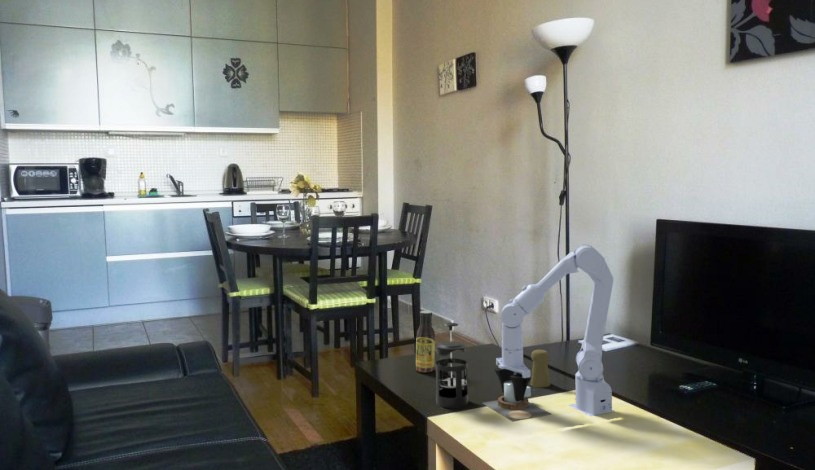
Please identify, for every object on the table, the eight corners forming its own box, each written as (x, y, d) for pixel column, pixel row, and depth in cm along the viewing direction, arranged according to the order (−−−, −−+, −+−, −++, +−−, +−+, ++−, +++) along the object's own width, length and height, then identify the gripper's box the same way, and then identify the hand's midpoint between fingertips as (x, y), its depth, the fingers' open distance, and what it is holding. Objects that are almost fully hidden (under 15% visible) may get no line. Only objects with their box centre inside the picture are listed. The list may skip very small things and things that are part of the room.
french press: (476, 407, 175) (474, 325, 174) (445, 413, 172) (443, 328, 170) (457, 395, 186) (455, 317, 184) (427, 400, 182) (425, 320, 181)
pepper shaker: (549, 383, 196) (548, 347, 195) (551, 389, 190) (551, 352, 189) (529, 383, 196) (528, 347, 196) (531, 389, 190) (530, 352, 190)
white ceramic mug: (510, 408, 172) (509, 386, 172) (501, 403, 177) (500, 381, 176) (534, 404, 175) (533, 382, 175) (524, 399, 180) (524, 378, 179)
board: (552, 416, 167) (552, 408, 167) (512, 423, 163) (512, 416, 163) (518, 398, 182) (518, 391, 182) (481, 404, 177) (481, 397, 177)
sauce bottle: (413, 372, 210) (412, 313, 209) (418, 367, 216) (417, 309, 215) (432, 374, 209) (431, 313, 207) (437, 368, 215) (436, 310, 213)
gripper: (486, 344, 180) (487, 391, 180) (514, 355, 166) (514, 407, 167) (508, 341, 182) (508, 388, 183) (536, 352, 169) (537, 403, 170)
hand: (513, 396), depth 175 cm, fingers open, 6 cm apart
